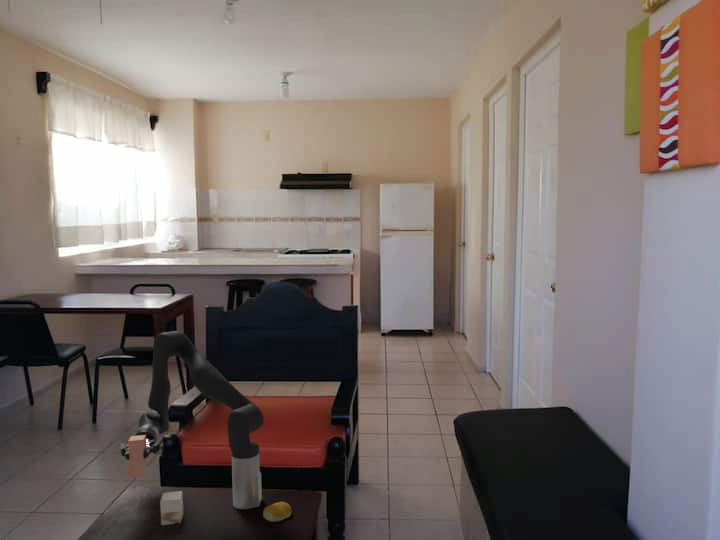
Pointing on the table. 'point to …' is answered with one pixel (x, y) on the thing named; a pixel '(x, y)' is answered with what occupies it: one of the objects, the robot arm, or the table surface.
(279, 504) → the bread roll
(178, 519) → the tower base
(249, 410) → the robot arm
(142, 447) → the pillar
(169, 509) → the white short block
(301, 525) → the table surface
